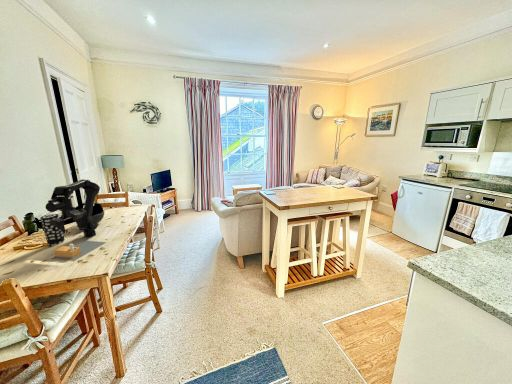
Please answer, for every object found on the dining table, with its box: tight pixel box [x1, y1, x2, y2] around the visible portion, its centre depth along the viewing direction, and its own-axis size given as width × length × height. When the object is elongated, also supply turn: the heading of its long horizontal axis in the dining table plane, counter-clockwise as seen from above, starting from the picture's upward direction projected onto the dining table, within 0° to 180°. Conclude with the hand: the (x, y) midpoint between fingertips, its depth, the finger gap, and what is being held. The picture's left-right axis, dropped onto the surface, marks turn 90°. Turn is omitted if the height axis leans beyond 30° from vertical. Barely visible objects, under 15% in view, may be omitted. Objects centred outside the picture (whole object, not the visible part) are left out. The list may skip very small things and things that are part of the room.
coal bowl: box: [73, 202, 105, 225], centre depth 167 cm, size 20×20×19 cm
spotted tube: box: [39, 213, 66, 248], centre depth 136 cm, size 8×8×20 cm
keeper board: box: [50, 240, 107, 262], centre depth 128 cm, size 16×22×9 cm
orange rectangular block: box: [53, 245, 81, 258], centre depth 123 cm, size 12×5×4 cm, turn 81°
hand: (72, 229), depth 132 cm, fingers open, 9 cm apart
